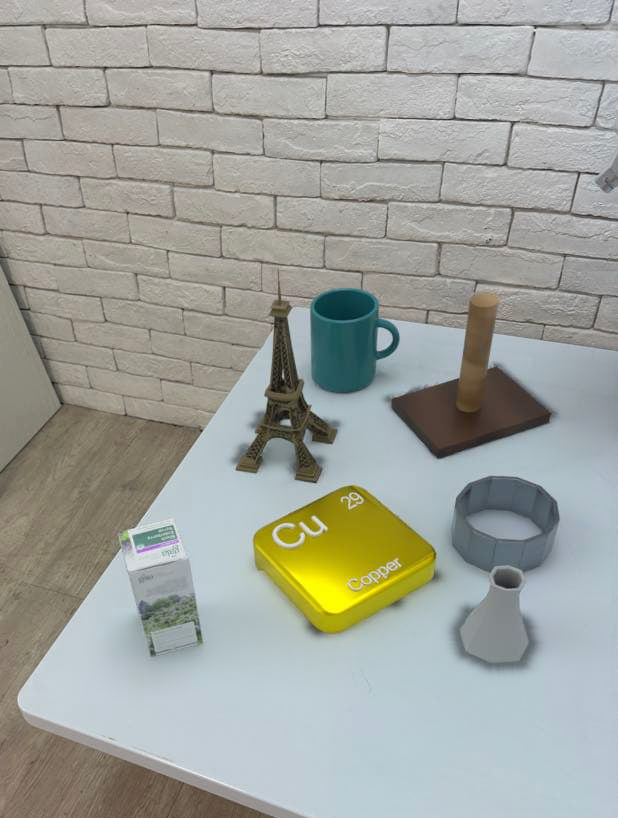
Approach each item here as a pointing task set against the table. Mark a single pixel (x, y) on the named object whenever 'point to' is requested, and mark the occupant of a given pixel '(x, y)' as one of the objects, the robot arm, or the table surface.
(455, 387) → the board
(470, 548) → the ring
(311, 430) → the eiffel tower
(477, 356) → the stick
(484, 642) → the flask
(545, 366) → the table surface
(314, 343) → the cup
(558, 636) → the table surface
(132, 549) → the syrup box
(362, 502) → the element tile
